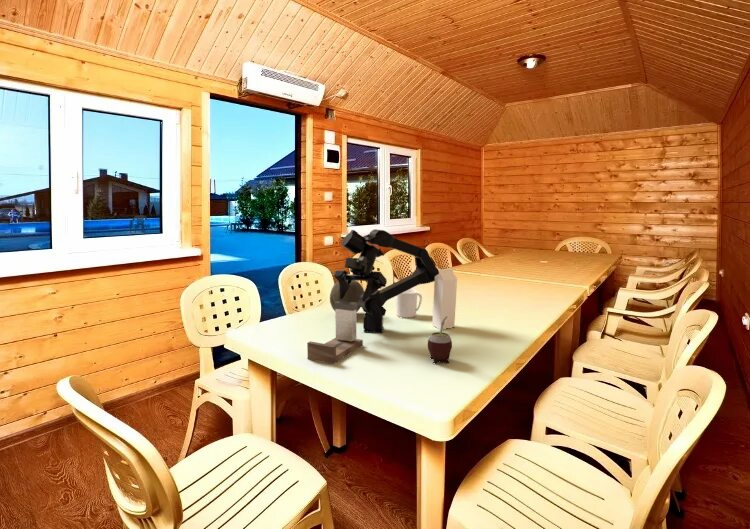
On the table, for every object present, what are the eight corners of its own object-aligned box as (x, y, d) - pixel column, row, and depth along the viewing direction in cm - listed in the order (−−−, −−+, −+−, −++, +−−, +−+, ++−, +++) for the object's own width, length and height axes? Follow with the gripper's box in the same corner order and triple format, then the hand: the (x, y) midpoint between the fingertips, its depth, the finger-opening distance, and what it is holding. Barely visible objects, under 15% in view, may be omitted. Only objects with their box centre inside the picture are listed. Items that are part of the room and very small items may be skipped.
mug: (392, 317, 176) (392, 292, 175) (399, 312, 185) (399, 288, 183) (418, 320, 172) (418, 294, 171) (424, 314, 181) (424, 290, 179)
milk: (454, 328, 161) (458, 270, 157) (440, 330, 159) (444, 271, 154) (445, 323, 167) (448, 266, 162) (431, 324, 164) (435, 267, 160)
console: (339, 341, 146) (338, 327, 145) (362, 345, 142) (362, 330, 141) (307, 358, 130) (307, 342, 129) (333, 364, 126) (333, 347, 125)
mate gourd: (435, 355, 133) (436, 307, 131) (458, 361, 128) (459, 311, 126) (421, 362, 127) (422, 312, 125) (445, 368, 122) (446, 316, 120)
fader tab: (339, 336, 143) (338, 300, 142) (357, 339, 140) (357, 302, 139) (334, 338, 141) (333, 302, 139) (353, 341, 138) (353, 304, 136)
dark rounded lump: (363, 320, 172) (363, 282, 170) (328, 319, 172) (327, 282, 170) (365, 311, 186) (365, 276, 184) (332, 311, 186) (331, 276, 184)
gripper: (333, 247, 152) (317, 286, 145) (379, 247, 142) (364, 289, 135) (348, 265, 160) (334, 302, 153) (393, 266, 150) (379, 306, 143)
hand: (351, 299), depth 145 cm, fingers open, 9 cm apart
